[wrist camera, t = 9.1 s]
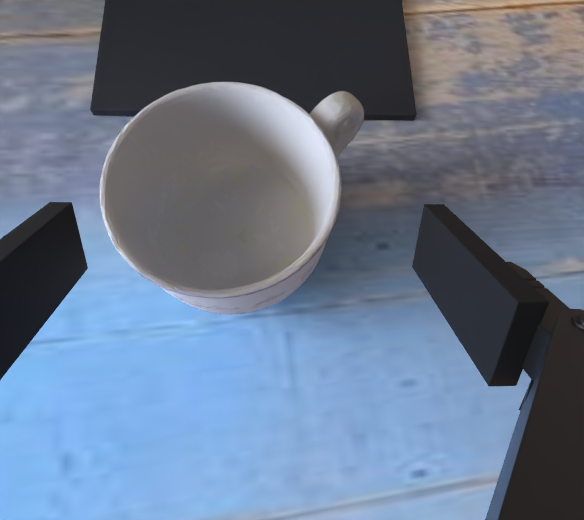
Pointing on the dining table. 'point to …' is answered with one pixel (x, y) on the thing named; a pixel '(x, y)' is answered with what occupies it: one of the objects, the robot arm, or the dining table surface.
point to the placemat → (255, 52)
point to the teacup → (227, 192)
